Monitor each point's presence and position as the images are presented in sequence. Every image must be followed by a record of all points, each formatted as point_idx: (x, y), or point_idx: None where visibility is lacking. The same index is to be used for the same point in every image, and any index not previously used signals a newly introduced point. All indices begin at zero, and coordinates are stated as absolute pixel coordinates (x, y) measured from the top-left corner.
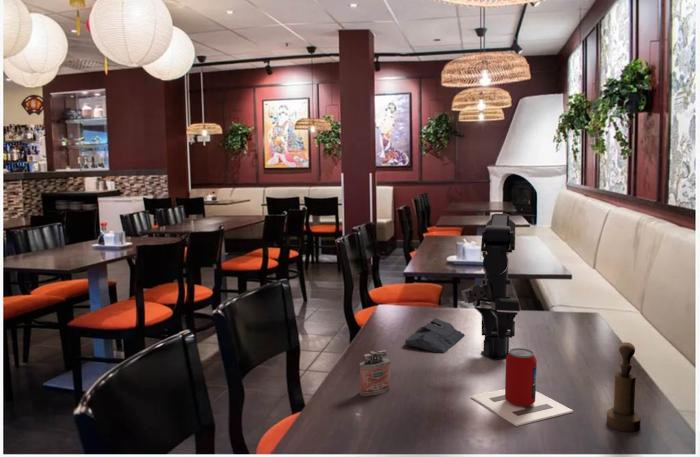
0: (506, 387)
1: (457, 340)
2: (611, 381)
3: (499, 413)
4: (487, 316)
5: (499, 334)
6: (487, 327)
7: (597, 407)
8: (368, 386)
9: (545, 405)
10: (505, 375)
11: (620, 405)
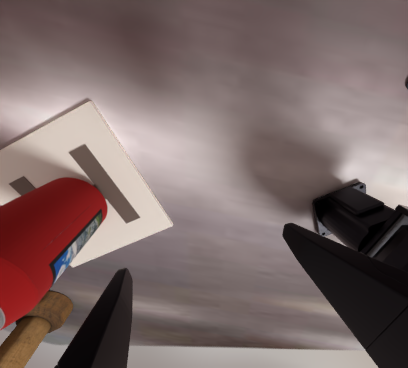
0: (37, 189)
1: None
2: (198, 321)
3: (4, 149)
4: (387, 314)
5: (104, 297)
6: (312, 252)
7: None
8: None
9: None
10: (25, 203)
11: (7, 337)
